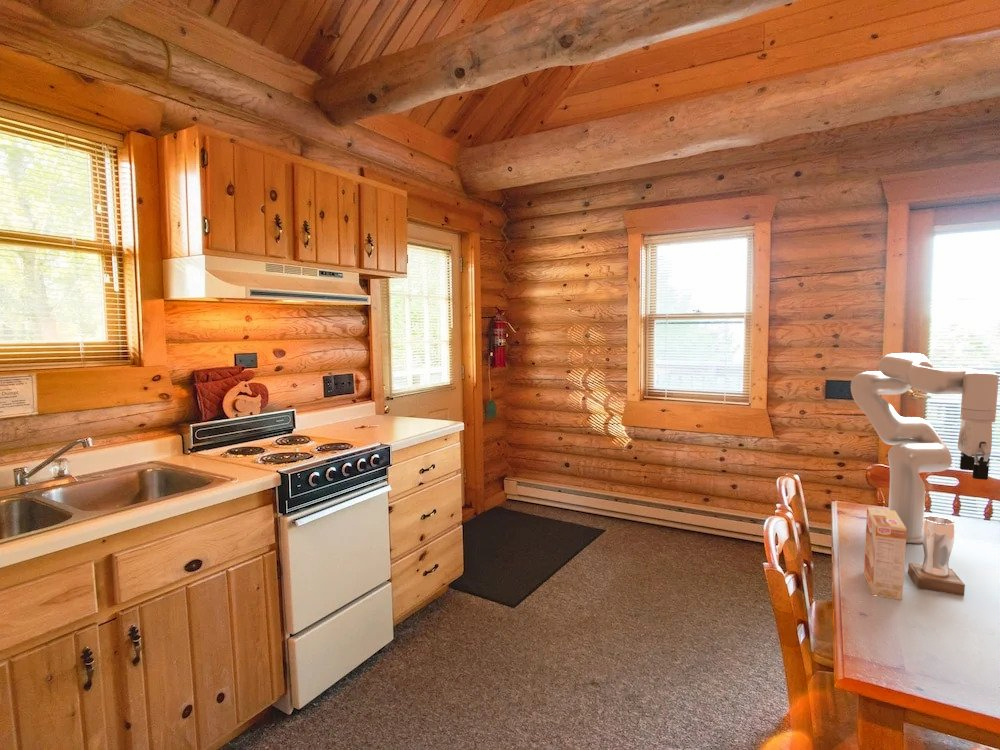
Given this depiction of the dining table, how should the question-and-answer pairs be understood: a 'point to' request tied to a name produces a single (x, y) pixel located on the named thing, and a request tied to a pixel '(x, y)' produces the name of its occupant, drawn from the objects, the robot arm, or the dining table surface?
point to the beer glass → (937, 545)
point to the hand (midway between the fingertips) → (973, 474)
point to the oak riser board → (936, 581)
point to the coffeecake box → (885, 553)
